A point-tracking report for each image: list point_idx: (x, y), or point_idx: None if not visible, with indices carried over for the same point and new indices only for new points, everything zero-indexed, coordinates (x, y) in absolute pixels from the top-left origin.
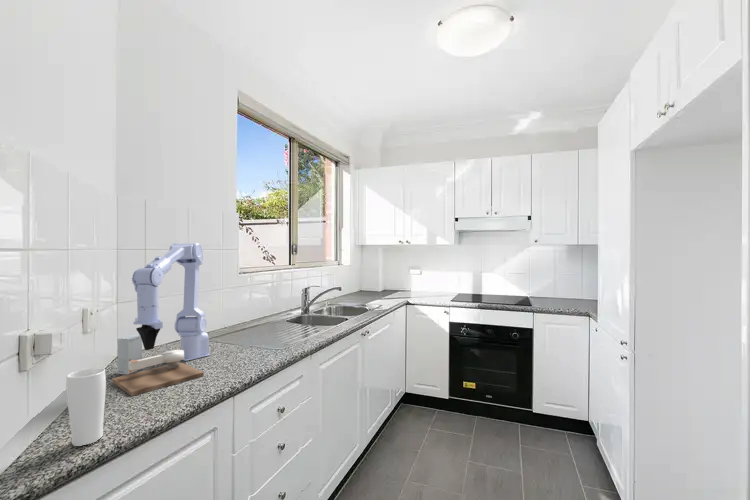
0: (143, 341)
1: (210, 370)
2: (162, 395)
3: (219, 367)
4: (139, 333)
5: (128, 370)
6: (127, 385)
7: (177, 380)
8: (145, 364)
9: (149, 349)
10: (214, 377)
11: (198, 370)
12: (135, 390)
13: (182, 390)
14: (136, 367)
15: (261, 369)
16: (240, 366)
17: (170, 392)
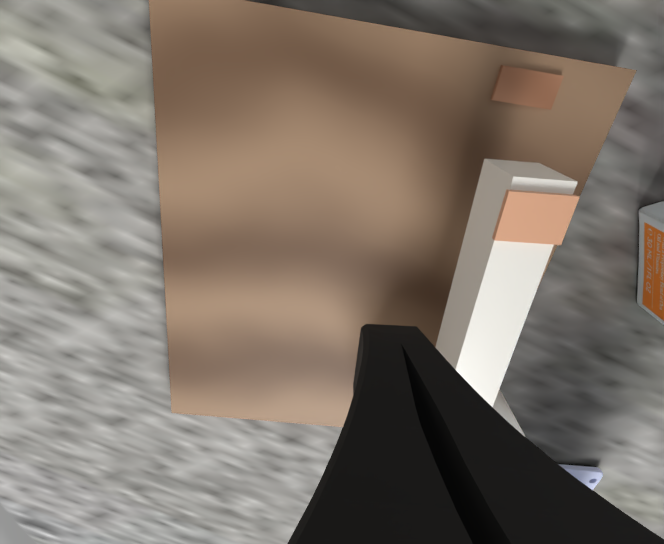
0: (430, 395)
1: (236, 446)
2: (5, 123)
3: (243, 479)
4: (607, 530)
5: (656, 222)
6: (341, 49)
7: (167, 289)
8: (464, 272)
9: (358, 351)
10: (108, 408)
11: (227, 414)
12: (158, 21)
13: (14, 234)
14: (479, 204)
15: (53, 531)
16: (172, 518)
17: (30, 180)
